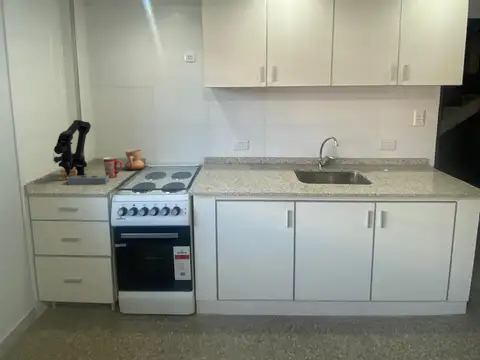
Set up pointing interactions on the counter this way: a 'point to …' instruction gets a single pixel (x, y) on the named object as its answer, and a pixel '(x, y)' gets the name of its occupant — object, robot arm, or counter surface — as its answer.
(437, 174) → the counter surface
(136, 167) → the ceramic jug
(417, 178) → the counter surface
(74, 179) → the rail
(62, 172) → the tan pronged block
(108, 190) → the counter surface
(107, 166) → the mug
